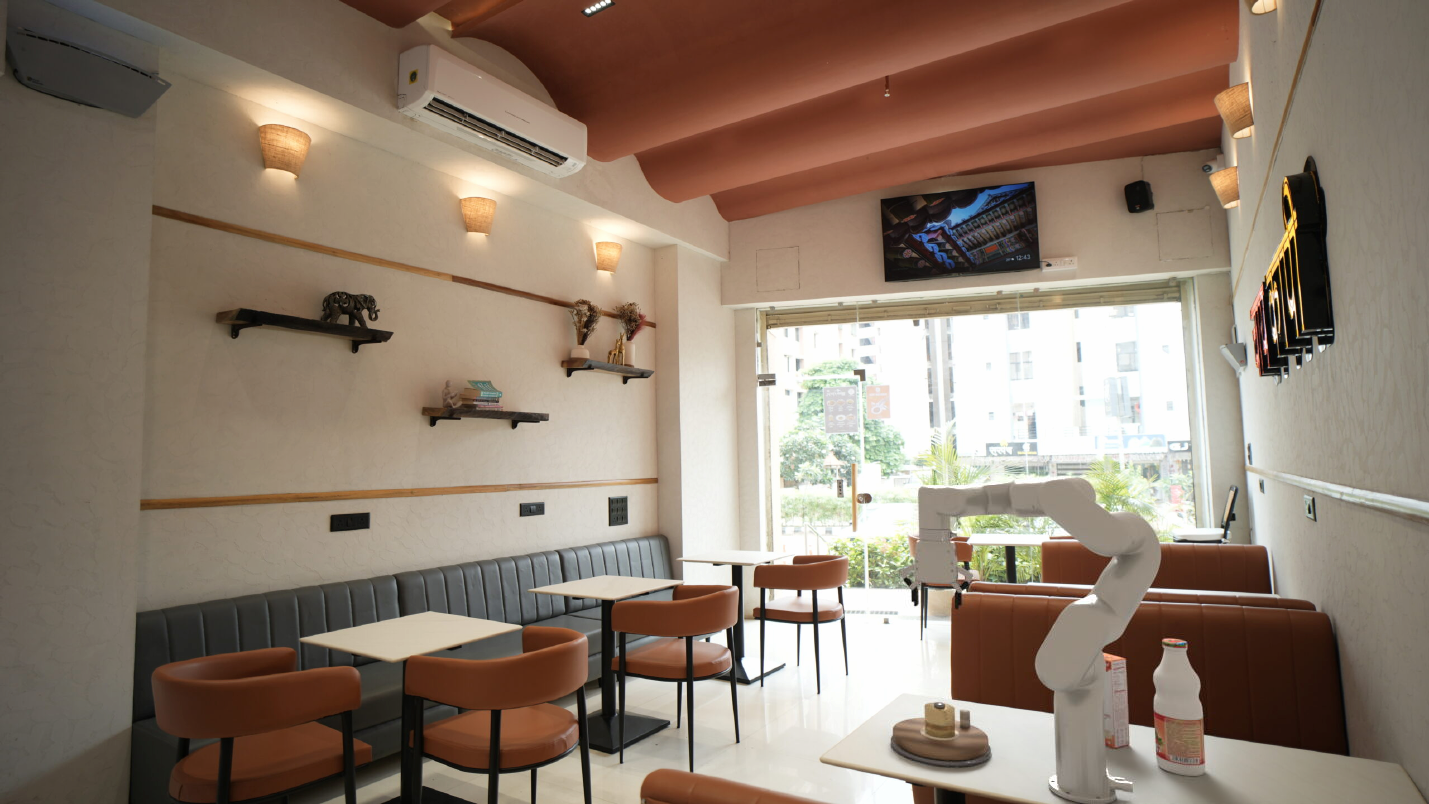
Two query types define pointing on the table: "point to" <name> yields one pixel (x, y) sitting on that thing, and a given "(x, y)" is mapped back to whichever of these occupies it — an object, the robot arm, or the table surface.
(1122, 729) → the cracker box
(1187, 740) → the fruit juice
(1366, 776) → the table surface
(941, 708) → the cover
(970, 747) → the turntable
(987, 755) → the turntable base
